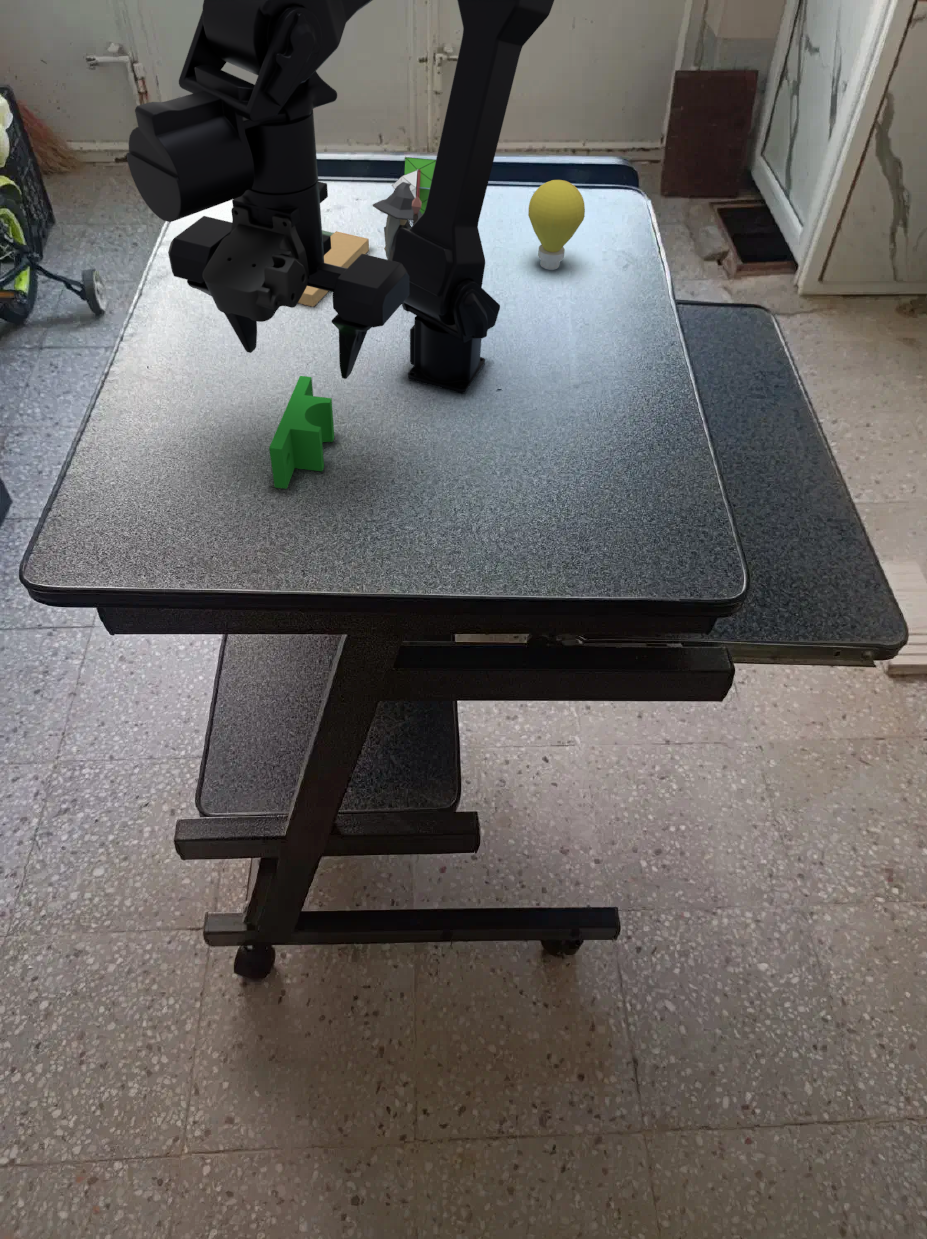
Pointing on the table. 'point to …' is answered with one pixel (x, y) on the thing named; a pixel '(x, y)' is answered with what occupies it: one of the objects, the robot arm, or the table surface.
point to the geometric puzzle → (418, 178)
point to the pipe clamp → (301, 433)
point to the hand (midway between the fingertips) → (298, 363)
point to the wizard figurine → (398, 214)
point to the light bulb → (555, 219)
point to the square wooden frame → (337, 260)
